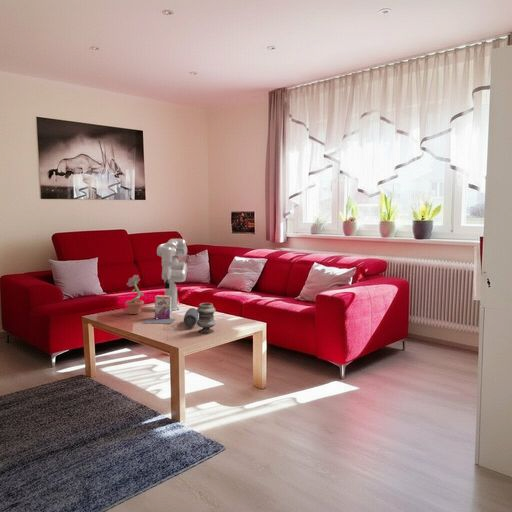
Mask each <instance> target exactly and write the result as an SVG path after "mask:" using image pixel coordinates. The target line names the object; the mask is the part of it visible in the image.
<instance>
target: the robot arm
mask: <svg viewBox="0 0 512 512" xmlns="http://www.w3.org/2000/svg"><path fill="white" fill-rule="evenodd" d="M187 254H188V247H187V242H186V241H185V239H184V238H170V239H169V240H168V241H167V242H165V243H161V244H159V245H158V246H157V249H156V255H157V256H159V257H161V267H162V268H161V271H162V272H161V279H162V280H163V281H164V296H172V310H173V311H177V310H176V309H178V310H180V307H179V306H178V287H177V284H176V283H175V282H177V283H178V282H179V283H180V282H185V281H186V278H187V272H188V266H187V265H188V264H187V263H186V262H184V261H180V260H179V259H178V258H177V257H178V256H179V257H185V256H187Z"/></svg>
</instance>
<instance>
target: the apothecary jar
mask: <svg viewBox="0 0 512 512" xmlns="http://www.w3.org/2000/svg"><path fill="white" fill-rule="evenodd" d="M196 310H197V312H198V320H197V322H196V325H197V326H198V327H200V329H199V330H198V333H200V334H212V333H214V329H213V327H214V326H215V325H216V320H215V318H214V317H215V316H214V313H215V312H216V308H215V307H214V305H213V303H211V302H202V303H199V305H198V307H197V308H196Z"/></svg>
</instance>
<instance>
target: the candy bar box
mask: <svg viewBox="0 0 512 512" xmlns="http://www.w3.org/2000/svg"><path fill="white" fill-rule="evenodd" d="M172 312H173V311H172V296H165V295H161V294H160V295H159V294H158V295H155V297H154V318H158V319H172V318H171V317H173V316H172V315H173V314H172Z"/></svg>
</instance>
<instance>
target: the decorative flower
mask: <svg viewBox="0 0 512 512" xmlns="http://www.w3.org/2000/svg"><path fill="white" fill-rule="evenodd" d="M140 281H141V278H140V276H139V274H134V275H133V276H132V277H129V278H128V282H126V286H128V288H129V287H133V286H134V289H132V291H131V293H134V292H135V291H136V293H137V296H136V297H134V298H133V299H131V300H127V301H125V302H124V305H125V306H127V309H128V314H129V315H130V314H137V315H140V314H141V312H142V305H144V304H145V301H143V300H142V299H140V297H141V296H145V294H144V293H143V292H141V291H140V290H139V287H138V286H137V285H138V284H139V282H140Z"/></svg>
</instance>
